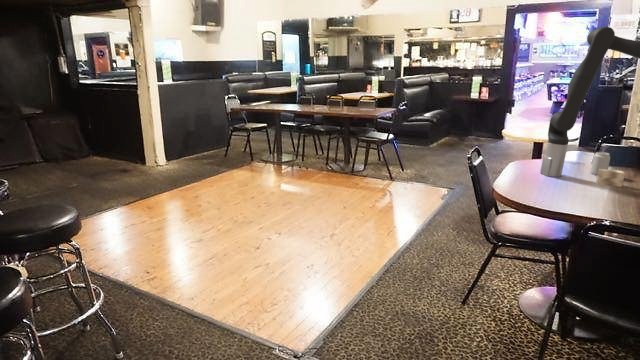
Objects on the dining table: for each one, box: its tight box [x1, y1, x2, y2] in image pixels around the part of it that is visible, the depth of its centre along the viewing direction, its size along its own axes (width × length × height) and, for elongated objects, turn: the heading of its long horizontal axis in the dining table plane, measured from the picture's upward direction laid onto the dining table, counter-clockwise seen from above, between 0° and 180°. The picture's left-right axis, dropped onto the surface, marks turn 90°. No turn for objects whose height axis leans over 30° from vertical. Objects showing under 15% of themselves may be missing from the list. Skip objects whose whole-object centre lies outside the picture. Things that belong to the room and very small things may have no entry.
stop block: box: [595, 169, 626, 187], centre depth 207 cm, size 10×4×7 cm, turn 71°
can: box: [589, 151, 611, 177], centre depth 224 cm, size 8×8×12 cm
